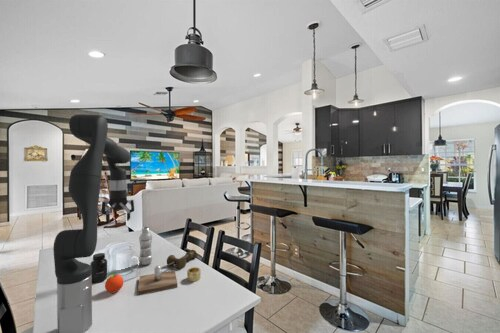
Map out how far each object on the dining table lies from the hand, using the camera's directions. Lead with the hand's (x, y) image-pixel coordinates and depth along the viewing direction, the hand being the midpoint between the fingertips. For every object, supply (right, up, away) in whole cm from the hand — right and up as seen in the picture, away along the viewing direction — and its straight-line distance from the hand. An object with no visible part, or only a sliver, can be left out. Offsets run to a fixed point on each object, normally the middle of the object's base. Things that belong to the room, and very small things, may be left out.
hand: (118, 221), depth 117 cm
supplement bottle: (-5, -27, -7) cm, 28 cm away
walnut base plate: (+24, -26, -10) cm, 37 cm away
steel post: (+24, -25, -10) cm, 36 cm away
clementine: (+7, -27, -17) cm, 32 cm away
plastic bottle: (+9, -26, +10) cm, 30 cm away
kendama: (+29, -27, +10) cm, 40 cm away
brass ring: (+39, -26, -6) cm, 48 cm away
